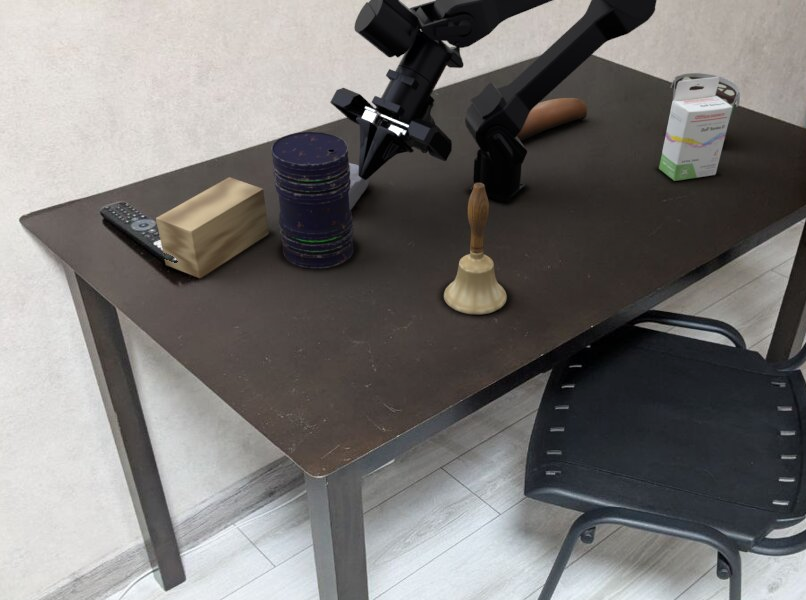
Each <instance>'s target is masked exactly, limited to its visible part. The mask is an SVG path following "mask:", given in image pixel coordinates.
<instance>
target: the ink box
mask: <svg viewBox="0 0 806 600" xmlns="http://www.w3.org/2000/svg"><path fill="white" fill-rule="evenodd" d="M718 83H719V77H712V78H702V79H693V80H686V81H679V82H678V84H677V88H676V92H675V96H674V100H673V99H672V102H671V107H670V112H669V117H668V122H667V125H666V126H667V127H666V131H665V137H664V141H663V147H662V151H661V157H660V161H659V165H658V169H659V171H661V172H662V173H664V174H665V175H666V176H667V177H668V178H670V179H671V180H673V181H674V182H676V181H677V182H678V181H684V180H691V179H697V178H702V177H709V176H716V174H717V171H718V166H719V162H720V159H721V154H722V151H723V147H724V142H725V139H726V135H727V130H728V128H729V124H730V120H731V118H730V115H731V111H732V106H731V105H729V104H728V103H727V102H725V101H724V100H722V99H721V98H719V97H718V96H715V94H716V90H717V87H718ZM697 84H699V85H700V86H702V85H704V88H703V89H699V90H691V91H690V90H689V89H690V87H693V86H696V85H697ZM731 116H732V115H731ZM729 119H730V120H729Z"/></svg>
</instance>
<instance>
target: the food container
mask: <svg viewBox="0 0 806 600" xmlns="http://www.w3.org/2000/svg"><path fill="white" fill-rule="evenodd" d="M712 77H719V83H718V87H717V90H716V94H715V96H718V97H719V98H721V99H722V100H724V101H725V102H727V103H728V104H729V105H731V106H732V111H731V115H730V119H729V121H730V120H731V118H732V115H733V112H734V109H735V105H736V108H738V107H739V106H740V99H741V98H740V97H741V93H740V88H739V86H738V85H737V84H736V83H735V82H733V81H731V80H729V79H728V78H725V77H723V76H719V75H715V74H710V73H703V72H689V73H687V72H686V73H682V74H679V75H676V76H675V77H674V79H673V81H672V82H671V85H670V88H669V89H673V90H672V91H673V93H672V101H673V100H674V96H675V92H676V88H677V84H678V82H679V81H686V80H693V79H702V78H712ZM703 88H704V85H702V86H700V85H699V84H697V85H696V86H693V87H690V89H689V90H690V91H691V90H699V89H703Z"/></svg>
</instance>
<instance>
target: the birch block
mask: <svg viewBox="0 0 806 600" xmlns="http://www.w3.org/2000/svg"><path fill="white" fill-rule="evenodd" d="M155 220H156V227H157V230H158V235H159V240H160V245H161V250H162V253H165V254H166V253H167V254H169V255H171V256H173V257H174V258H176V259H177V261H178V262H177V263H174V262H171V261H169V260H166V259H164V263H165V266H167V267H169V268H172V269H175V270H177V271H179V272H182V273H185V274H188V275H190V276H193V277H195V278H198V279H202V278H203V277H205V276H206V275H208V274H210V273H211V272H213V271H215V269H217V268H218V267H220V266H221V265H223V264H225V263H226V262H228V261H229V260H231V259H233V258H235V257H236V256H237V255H239V254H241V253H242V252H244V251H245V250H247V249H248V248H249V247H251V246H253V245H254V244H255V243H258V242H259V241H260V240H262V239H264V238H265V237H267V236H268V235H269V234H270V231H269V224H268V215H267V208H266V200H265V191H264V188H262V187H259V186H256V185H253V184H250V183H247V182H245V181H241V180H238V179H236V178H233V177H229V176H228V177H227V178H225V179H224V180H223V179H222V181H220V182H218V183H216V184H214V185H212V186H210V187H209V188H208V189H206V190H203V191H201V192H200V193H198V194H197V195H195V196H193V197H191V198H189V199H188V200H186V201H184V202H182V203H181V204H179V205H177V206H175V207H174V208H172V209H169V210H168V211H166V212H164V213H163V214H161V215H159V216H157V217H156V218H155Z"/></svg>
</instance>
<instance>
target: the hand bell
mask: <svg viewBox="0 0 806 600" xmlns="http://www.w3.org/2000/svg"><path fill="white" fill-rule="evenodd" d="M473 186H474V187H473ZM473 186H472V187H473V191H472V192H470V195H469V198H468V202H467V219H468V223H469V228H470V244H469V245H470V246H469V253H468V254H466V255H464V256H462V257H461V258H460V260H459V262H458V267H457V273H456V276H455V278H454V280H453V281H452V282H450V283H449V285H447V286H446V287H445V289H444V293H443V299H444V301H445V303H446V304H447V306H449V308H451V309H452V310H455V311H457V312H459V313H462V314H466V315H478V316H479V315H487V314H488V315H489V314H491V313H494V312H496V311H498V310H501V309H502V307H504V306H505V304H506V302H507V299H508V296H507V293H506V289H504V287H503V286H502V285H501V284H500V283H498V281H497V278H496V273H495V263H494V261H493V259H492V258H491V257H489V256H488V255H487V254H484V234H485V233H484V232H485V228H486V226H487V224H488V219H489V214H490V213H489V211H490V204H489V198H488V197H487V194H486V191H485V186H484V184H483V183H475V184H474V183H473Z"/></svg>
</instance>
